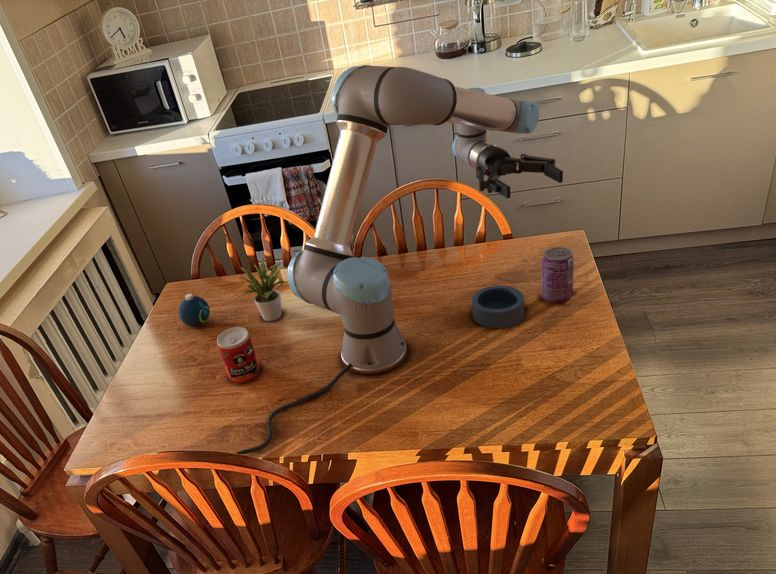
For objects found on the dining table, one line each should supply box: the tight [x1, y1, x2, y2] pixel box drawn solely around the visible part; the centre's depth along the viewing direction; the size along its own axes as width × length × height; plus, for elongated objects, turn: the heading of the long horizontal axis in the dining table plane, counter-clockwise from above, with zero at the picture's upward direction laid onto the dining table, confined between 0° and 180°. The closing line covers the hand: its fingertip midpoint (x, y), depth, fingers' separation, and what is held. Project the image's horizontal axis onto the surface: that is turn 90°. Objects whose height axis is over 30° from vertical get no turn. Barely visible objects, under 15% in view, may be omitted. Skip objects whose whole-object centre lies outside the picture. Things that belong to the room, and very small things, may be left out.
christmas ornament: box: [177, 293, 211, 328], centre depth 175 cm, size 8×8×10 cm
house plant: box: [239, 257, 289, 322], centre depth 169 cm, size 14×14×16 cm
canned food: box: [216, 326, 260, 384], centre depth 152 cm, size 8×8×11 cm
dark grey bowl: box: [471, 284, 525, 329], centre depth 154 cm, size 12×12×4 cm
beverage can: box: [540, 246, 575, 303], centre depth 153 cm, size 7×7×12 cm
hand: (535, 184), depth 150 cm, fingers open, 13 cm apart
